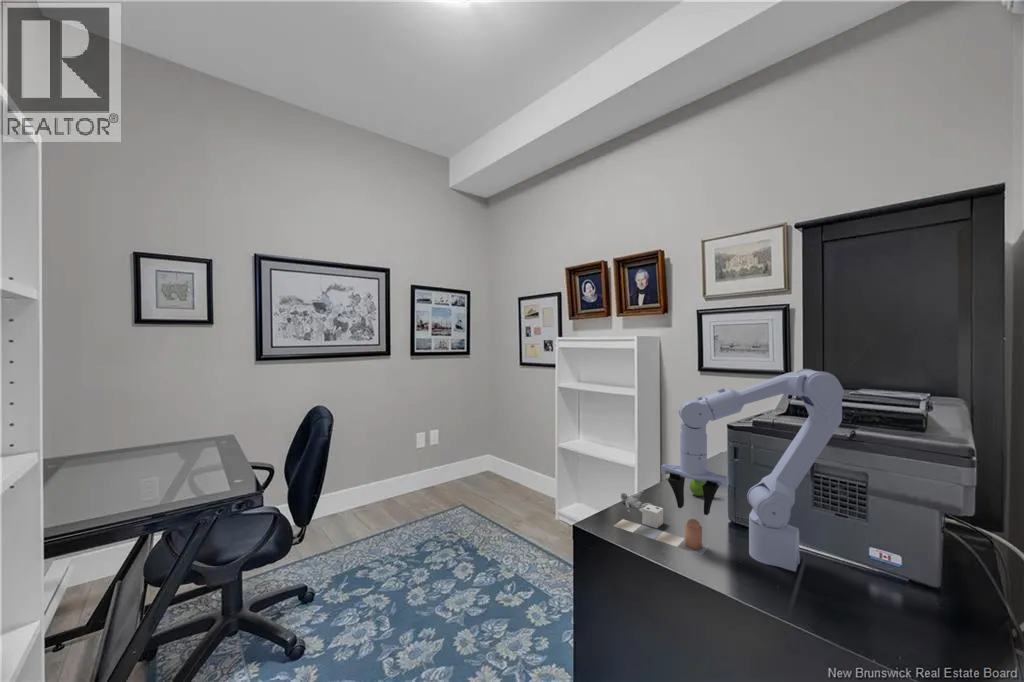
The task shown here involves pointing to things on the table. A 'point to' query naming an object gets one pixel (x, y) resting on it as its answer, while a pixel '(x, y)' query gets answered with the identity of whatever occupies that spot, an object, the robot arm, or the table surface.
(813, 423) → the robot arm
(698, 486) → the snail figurine
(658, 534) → the board
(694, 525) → the pawn
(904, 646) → the table surface
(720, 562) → the table surface
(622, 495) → the soldier figure
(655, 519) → the die
